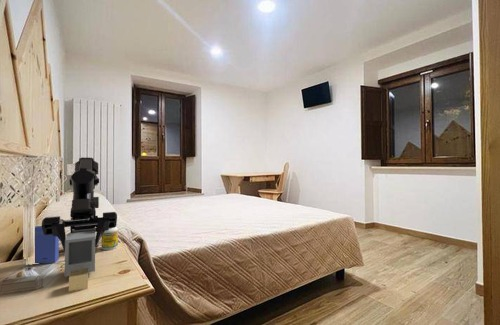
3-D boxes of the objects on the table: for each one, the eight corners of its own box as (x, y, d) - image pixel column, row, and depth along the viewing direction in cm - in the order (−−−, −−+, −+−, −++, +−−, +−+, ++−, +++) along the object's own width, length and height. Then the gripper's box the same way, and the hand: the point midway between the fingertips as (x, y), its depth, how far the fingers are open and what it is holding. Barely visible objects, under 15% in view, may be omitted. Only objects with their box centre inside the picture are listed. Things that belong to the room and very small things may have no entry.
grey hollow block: (67, 267, 74) (67, 233, 74) (95, 262, 77) (95, 230, 77) (64, 276, 68) (65, 240, 68) (94, 271, 71) (95, 236, 71)
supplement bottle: (117, 244, 98) (117, 220, 98) (118, 248, 93) (118, 223, 93) (101, 247, 95) (101, 222, 95) (101, 251, 90) (102, 225, 90)
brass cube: (70, 285, 66) (70, 270, 66) (88, 282, 68) (88, 267, 68) (68, 292, 62) (68, 277, 62) (87, 288, 65) (87, 273, 65)
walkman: (58, 259, 83) (59, 223, 82) (55, 262, 80) (55, 225, 80) (29, 262, 80) (29, 225, 80) (24, 265, 77) (25, 227, 77)
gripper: (43, 189, 71) (34, 239, 61) (117, 186, 81) (119, 229, 71) (47, 211, 78) (40, 259, 68) (115, 206, 87) (116, 247, 78)
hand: (80, 248), depth 71 cm, fingers closed on grey hollow block, 7 cm apart
